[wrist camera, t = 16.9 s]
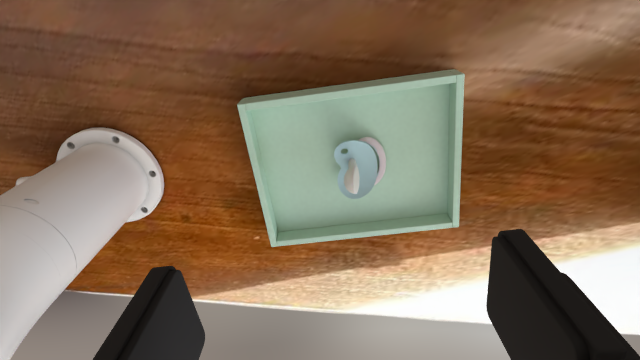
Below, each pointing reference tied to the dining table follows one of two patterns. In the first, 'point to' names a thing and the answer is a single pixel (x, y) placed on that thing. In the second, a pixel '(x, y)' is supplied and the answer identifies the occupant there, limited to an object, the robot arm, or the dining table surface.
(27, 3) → the dining table surface
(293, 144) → the tray
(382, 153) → the pacifier
